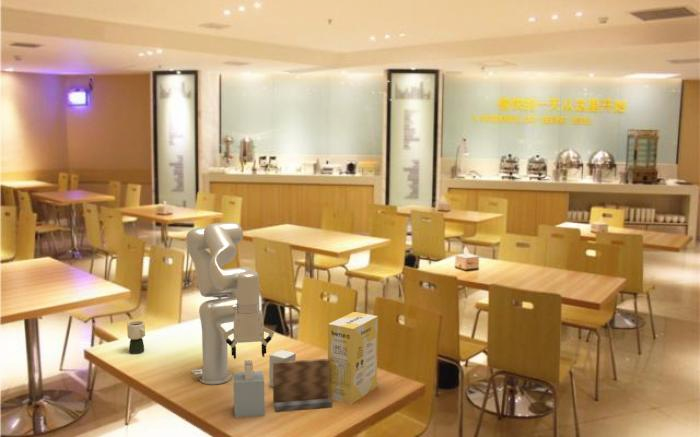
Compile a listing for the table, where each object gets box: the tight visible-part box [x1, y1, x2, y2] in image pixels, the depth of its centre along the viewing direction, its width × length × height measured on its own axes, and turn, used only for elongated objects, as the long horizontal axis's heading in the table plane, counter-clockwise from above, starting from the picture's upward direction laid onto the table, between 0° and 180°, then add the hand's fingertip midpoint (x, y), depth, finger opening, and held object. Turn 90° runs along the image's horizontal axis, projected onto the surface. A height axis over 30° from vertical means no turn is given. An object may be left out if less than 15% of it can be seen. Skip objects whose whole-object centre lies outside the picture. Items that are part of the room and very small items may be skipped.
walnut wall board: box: [272, 358, 333, 413], centre depth 228 cm, size 20×8×15 cm, turn 102°
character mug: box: [126, 320, 146, 354], centre depth 277 cm, size 11×7×13 cm, turn 58°
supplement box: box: [268, 349, 297, 388], centre depth 245 cm, size 7×7×13 cm
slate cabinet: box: [232, 359, 265, 419], centre depth 222 cm, size 10×9×18 cm
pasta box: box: [327, 311, 379, 405], centre depth 238 cm, size 18×10×28 cm, turn 149°
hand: (249, 356), depth 220 cm, fingers open, 9 cm apart
